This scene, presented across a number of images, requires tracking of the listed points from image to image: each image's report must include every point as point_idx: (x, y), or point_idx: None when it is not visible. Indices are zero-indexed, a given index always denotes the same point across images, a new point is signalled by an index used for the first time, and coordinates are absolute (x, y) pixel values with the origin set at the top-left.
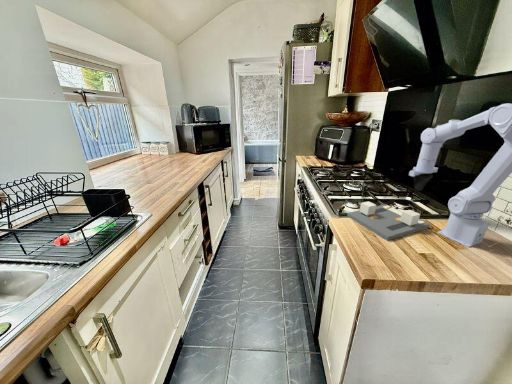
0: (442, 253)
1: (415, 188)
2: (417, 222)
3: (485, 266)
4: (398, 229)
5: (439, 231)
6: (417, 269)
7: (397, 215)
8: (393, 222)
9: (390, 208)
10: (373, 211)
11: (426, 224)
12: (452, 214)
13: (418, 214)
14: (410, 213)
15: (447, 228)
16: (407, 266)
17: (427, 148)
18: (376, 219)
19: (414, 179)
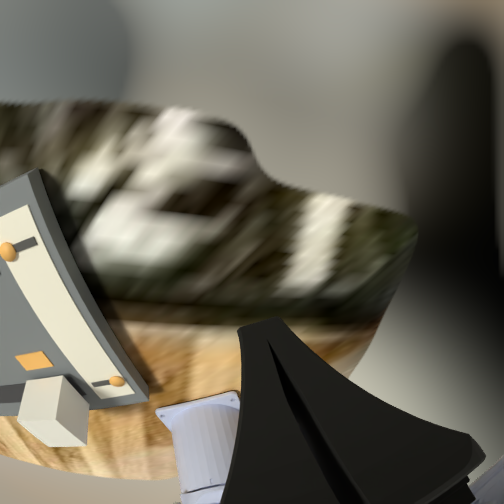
0: (101, 450)
1: (240, 343)
2: (87, 409)
3: (163, 468)
4: (13, 404)
5: (162, 412)
6: (31, 456)
7: (35, 333)
8: (4, 373)
9: (25, 255)
10: None
11: (131, 402)
12: (182, 491)
13: (77, 445)
14: (46, 436)
15: (174, 439)
16: (16, 449)
17: None
18: None
19: (230, 469)
